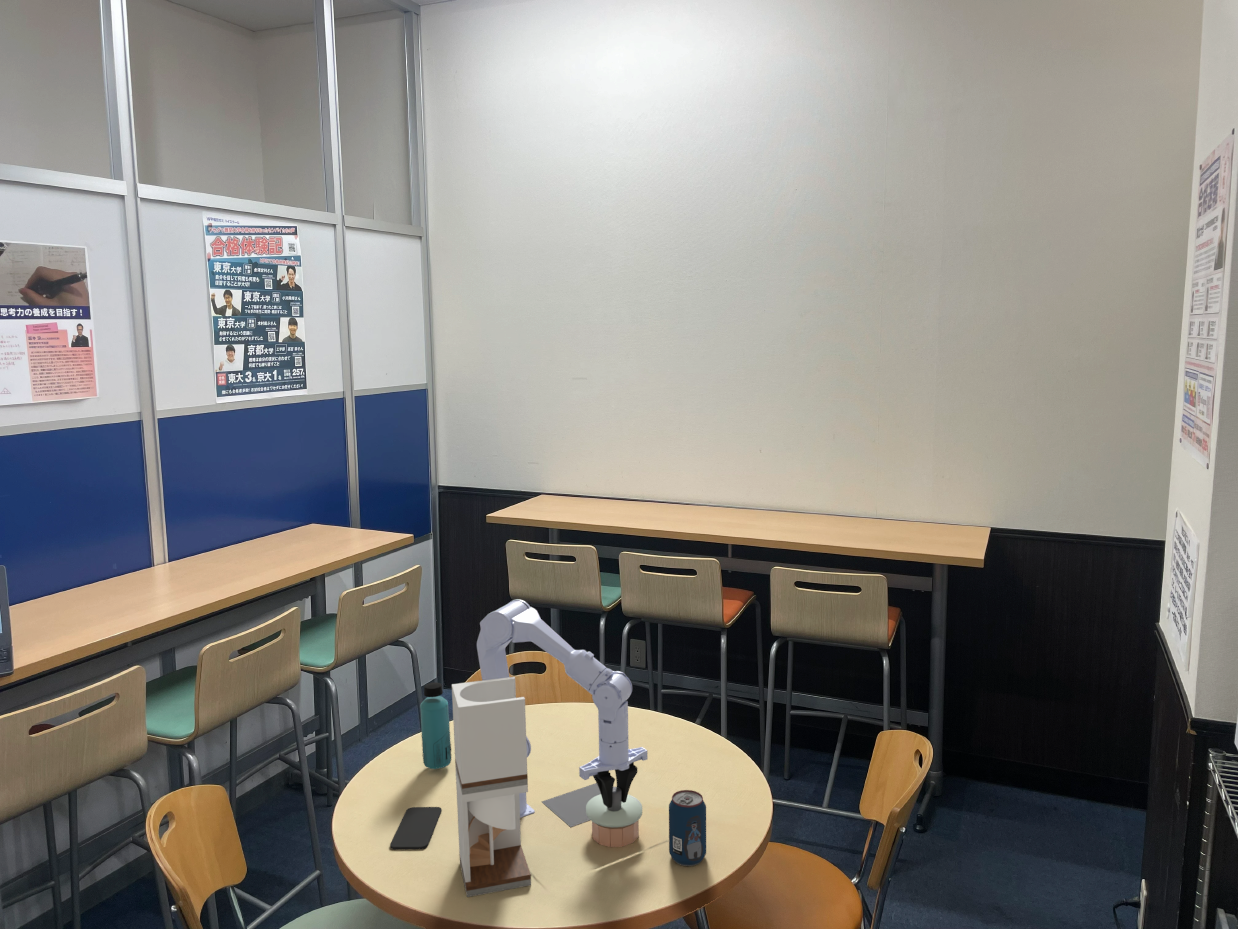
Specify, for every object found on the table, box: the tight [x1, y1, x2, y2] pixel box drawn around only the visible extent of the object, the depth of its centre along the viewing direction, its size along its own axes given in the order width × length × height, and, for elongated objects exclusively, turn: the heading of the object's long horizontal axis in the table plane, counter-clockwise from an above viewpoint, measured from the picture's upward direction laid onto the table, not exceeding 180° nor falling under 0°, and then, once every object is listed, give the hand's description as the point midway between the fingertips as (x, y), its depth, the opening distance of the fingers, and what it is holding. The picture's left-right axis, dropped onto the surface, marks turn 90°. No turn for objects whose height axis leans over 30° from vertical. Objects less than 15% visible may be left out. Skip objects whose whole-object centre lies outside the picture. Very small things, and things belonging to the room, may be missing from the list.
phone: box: [389, 806, 443, 851], centre depth 181 cm, size 7×1×15 cm
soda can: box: [668, 789, 707, 867], centre depth 169 cm, size 7×7×12 cm
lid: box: [586, 786, 643, 827], centre depth 177 cm, size 11×11×4 cm
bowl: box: [591, 819, 640, 848], centre depth 177 cm, size 9×9×4 cm
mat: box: [541, 783, 601, 828], centre depth 189 cm, size 14×12×1 cm
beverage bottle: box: [419, 681, 453, 770], centre depth 204 cm, size 6×7×20 cm
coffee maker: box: [451, 676, 532, 898], centre depth 163 cm, size 11×11×35 cm
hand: (614, 803), depth 177 cm, fingers closed on lid, 3 cm apart
